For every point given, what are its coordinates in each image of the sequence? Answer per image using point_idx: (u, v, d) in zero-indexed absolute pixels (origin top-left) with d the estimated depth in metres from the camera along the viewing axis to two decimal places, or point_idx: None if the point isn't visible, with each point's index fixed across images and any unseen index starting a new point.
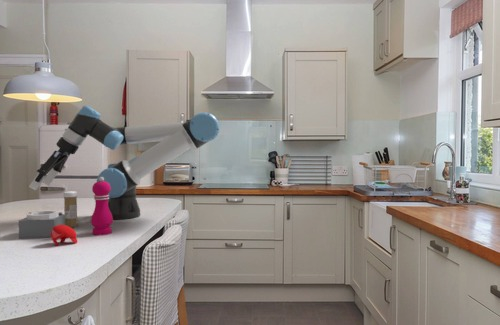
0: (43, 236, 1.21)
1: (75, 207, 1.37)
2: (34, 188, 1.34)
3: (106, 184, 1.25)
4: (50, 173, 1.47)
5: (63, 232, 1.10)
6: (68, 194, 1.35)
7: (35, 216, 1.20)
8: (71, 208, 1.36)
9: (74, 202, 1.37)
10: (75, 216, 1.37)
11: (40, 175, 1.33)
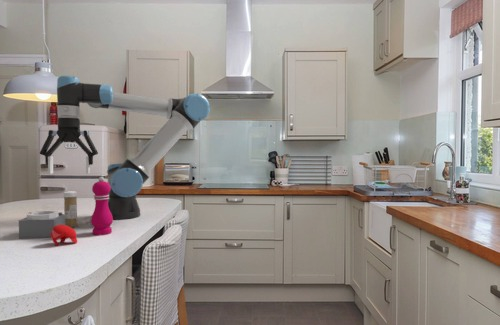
0: (43, 236, 1.21)
1: (75, 207, 1.37)
2: (89, 171, 1.39)
3: (106, 184, 1.25)
4: (50, 161, 1.35)
5: (63, 232, 1.10)
6: (68, 194, 1.35)
7: (35, 216, 1.20)
8: (71, 208, 1.36)
9: (74, 202, 1.37)
10: (75, 216, 1.37)
11: (92, 157, 1.38)
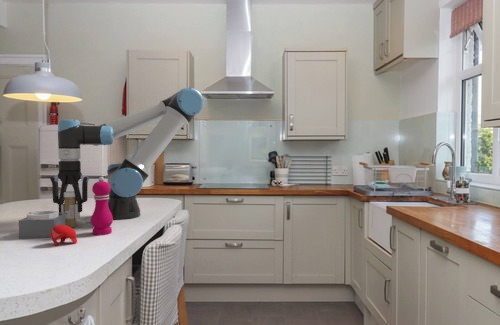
0: (43, 236, 1.21)
1: None
2: (79, 219, 1.39)
3: (106, 184, 1.25)
4: None
5: (63, 232, 1.10)
6: (68, 194, 1.35)
7: (35, 216, 1.20)
8: (71, 208, 1.36)
9: (74, 202, 1.37)
10: None
11: (81, 204, 1.38)
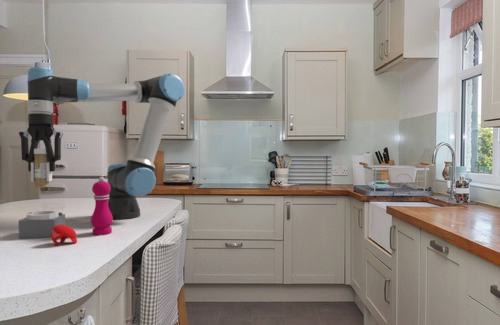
0: (43, 236, 1.21)
1: None
2: (51, 179, 1.26)
3: (106, 184, 1.25)
4: (34, 167, 1.24)
5: (63, 232, 1.10)
6: (38, 150, 1.22)
7: (35, 216, 1.20)
8: (42, 166, 1.23)
9: (45, 160, 1.24)
10: (46, 175, 1.24)
11: (54, 163, 1.25)
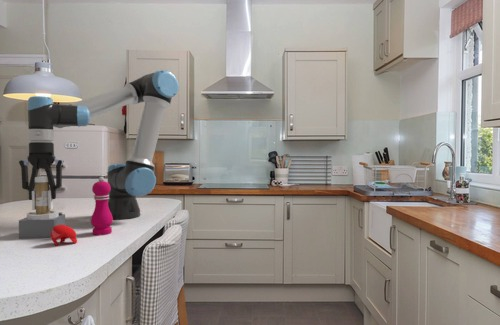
0: (43, 236, 1.21)
1: None
2: (52, 206, 1.26)
3: (106, 184, 1.25)
4: None
5: (63, 232, 1.10)
6: (40, 179, 1.22)
7: (35, 216, 1.20)
8: (43, 194, 1.23)
9: (47, 188, 1.24)
10: None
11: (55, 191, 1.26)
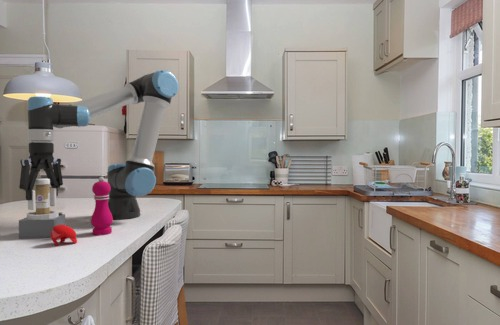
0: (43, 236, 1.21)
1: None
2: None
3: (106, 184, 1.25)
4: None
5: (63, 232, 1.10)
6: (47, 181, 1.24)
7: (35, 216, 1.20)
8: (49, 196, 1.25)
9: (49, 189, 1.26)
10: None
11: None
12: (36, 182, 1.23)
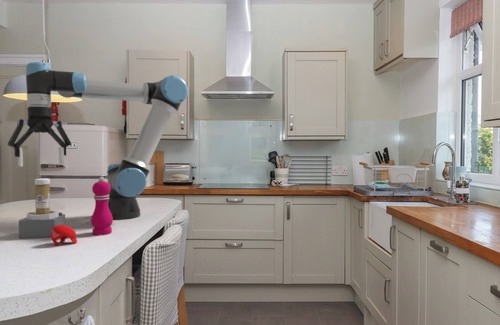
0: (43, 236, 1.21)
1: None
2: None
3: (106, 184, 1.25)
4: None
5: (63, 232, 1.10)
6: (47, 181, 1.24)
7: (35, 216, 1.20)
8: (49, 196, 1.25)
9: (49, 189, 1.26)
10: None
11: None
12: (36, 182, 1.23)
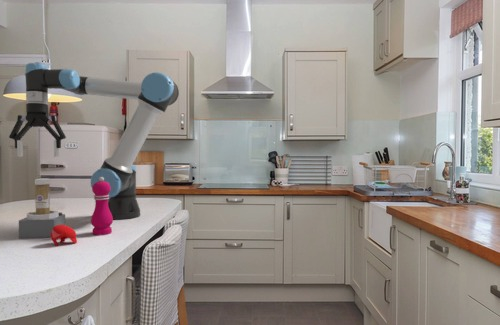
0: (43, 236, 1.21)
1: None
2: (58, 155, 1.45)
3: (106, 184, 1.25)
4: (20, 144, 1.42)
5: (63, 232, 1.10)
6: (47, 181, 1.24)
7: (35, 216, 1.20)
8: (49, 196, 1.25)
9: (49, 189, 1.26)
10: None
11: (60, 141, 1.45)
12: (36, 182, 1.23)
